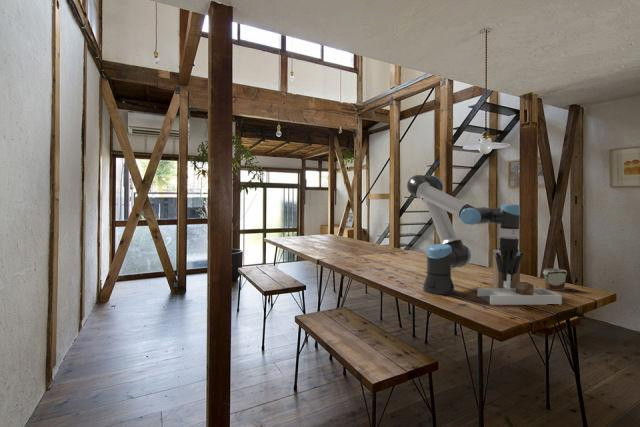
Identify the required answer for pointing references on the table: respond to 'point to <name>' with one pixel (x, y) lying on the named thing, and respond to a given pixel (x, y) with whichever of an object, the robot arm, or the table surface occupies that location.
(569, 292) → the table surface
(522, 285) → the walnut cube
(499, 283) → the wooden block
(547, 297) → the white tray
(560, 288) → the food container
